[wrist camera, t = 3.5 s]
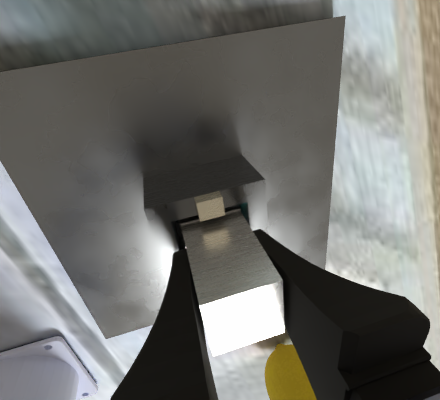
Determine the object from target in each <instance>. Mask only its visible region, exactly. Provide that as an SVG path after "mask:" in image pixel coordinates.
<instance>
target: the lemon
mask: <svg viewBox="0 0 440 400" xmlns="http://www.w3.org/2000/svg"><path fill="white" fill-rule="evenodd" d="M265 382H266V388H267V392H268V395H269V398H270V400H317V399H316V397H315V394H314V392H313V389H312V387H311V384H310V382H309V380H308V377H307V375H306V372H305V370H304V368H303V365H302V363H301V361H300V359H299V356H298V354H297V352H296V349H295V347H294V345H284V344H278V345H277V346H276V348H275V350H274V351H273V352H272V353H271V355H270V356H269V358H268V360H267V363H266V367H265Z"/></svg>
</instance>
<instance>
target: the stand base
mask: <svg viewBox="0 0 440 400" xmlns="http://www.w3.org/2000/svg"><path fill="white" fill-rule="evenodd" d="M344 27H345V16H341V17H334V18H328V19H322V20H316V21H310V22H304V23H298V24H291V25H285V26H279V27H273V28H267V29H261V30H255V31H248V32H242V33H236V34H230V35H224V36H218V37H212V38H205V39H199V40H193V41H187V42H181V43H175V44H169V45H162V46H156V47H150V48H144V49H138V50H132V51H126V52H119V53H113V54H107V55H101V56H95V57H89V58H83V59H76V60H70V61H64V62H58V63H52V64H46V65H40V66H33V67H27V68H21V69H15V70H9V71H3V72H0V161H1V162H2V164H3V166H4V167H5V169H6V171H7V173H8V174H9V176H10V178H11V179H12V181H13V183H14V184H15V186H16V188H17V189H18V191H19V193H20V195H21V196H22V198H23V200H24V201H25V203H26V205H27V206H28V208H29V210H30V211H31V213H32V215H33V217H34V218H35V220H36V222H37V223H38V225H39V227H40V228H41V230H42V232H43V233H44V235H45V237H46V239H47V240H48V242H49V244H50V245H51V247H52V249H53V250H54V252H55V254H56V255H57V257H58V259H59V261H60V262H61V264H62V266H63V267H64V269H65V271H66V272H67V274H68V276H69V277H70V279H71V281H72V283H73V284H74V286H75V288H76V289H77V291H78V293H79V294H80V296H81V298H82V299H83V301H84V303H85V305H86V306H87V308H88V310H89V311H90V313H91V315H92V316H93V318H94V320H95V321H96V323H97V325H98V326H99V328H100V330H101V332H102V333H103V335H104V337H105V338H106V339H108V338H111V337H115V336H118V335H121V334H124V333H127V332H131V331H134V330H137V329H140V328H144V327H147V326H150V325H153V324H154V322H155V320H156V317H157V315H158V312H159V310H160V307H161V304H162V301H163V298H164V295H165V292H166V288H167V284H168V280H169V276H170V271H171V266H172V255H173V253H174V252H177V251H180V250H184V249H186V248H185V244H184V240H183V236H182V232H181V229H180V225H179V220H180V219H184V218H188V217H192V216H196V215H198V217H199V220H200V222H201V221H205V220H209V219H212V218H216V217H220V216H224V215H225V211H224V208H227V207H231V206H235V205H237V206H239V207H240V208H241V213H242V214H243V216H244V218H245V219H246V221H247V223H248V224H249V226H250V227H251V229H252V231H253V230H257V229H261V230H263V231H264V232H266V233H267V234H268V235H270V236H271V237H272V238H274V239H275V240H276V241H278V242H279V243H281V244H282V245H283V246H285V247H286V248H288V249H289V250H291V251H292V252H294V253H295V254H297V255H299V256H300V257H302V258H304V259H305V260H307V261H309V262H310V263H312V264H314V265H316V266H318V267H320V268H322V269H324V270H325V264H326V251H327V239H328V227H329V214H330V202H331V189H332V177H333V164H334V152H335V139H336V127H337V114H338V102H339V89H340V77H341V64H342V52H343V39H344Z"/></svg>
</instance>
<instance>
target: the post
mask: <svg viewBox="0 0 440 400" xmlns="http://www.w3.org/2000/svg"><path fill="white" fill-rule="evenodd" d="M224 211H225V215H224V216H220V217H216V218H212V219H209V220H205V221H201V222H200V220H199V217H198V215H196V216H192V217H188V218H184V219H180V220H179V225H180V229H181V232H182V236H183V240H184V244H185V248H186V250H187V254H188V258H189V263H190V267H191V272H192V276H193V280H194V285H195V289H196V293H197V298H198V302H199V306H200V310H201V314H202V318H203V321H204V325H205V329H206V332H207V336H208V340H209V344H210V347H211V351H212V355H213V356H216V355H219V354H222V353H225V352H228V351H231V350H233V349H236V348H239V347H242V346H245V345H248V344H251V343H254V342H257V341H260V340H263V339H266V338H269V337H272V336H275V335H278V334H281V333H284V299H283V280H282V278H281V276H280V275H279V273H278V272H277V270H276V268H275V267H274V265H273V263H272V262H271V260H270V258H269V257H268V255H267V254H266V252H265V250H264V249H263V247H262V245H261V244H260V242H259V241H258V239H257V237H256V236H255V234H254V232H253V231H252V229H251V227H250V226H249V224H248V223H247V221H246V219H245V218H244V216H243V214H242V213H241V208H240V207H239V206H237V205H235V206H231V207H227V208H224Z"/></svg>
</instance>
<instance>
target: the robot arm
mask: <svg viewBox="0 0 440 400" xmlns="http://www.w3.org/2000/svg"><path fill="white" fill-rule="evenodd" d="M253 232H254V234H255V236H256V237H257V239H258V241H259V242H260V244H261V245H262V247H263V249H264V250H265V252H266V254H267V255H268V257H269V258H270V260H271V262H272V263H273V265H274V267H275V268H276V270H277V272H278V273H279V275H280V276H281V278H282V280H283V299H284V326H285V327H286V330H287V332H288V334H289V336H290V338H291V341H292V343H293V345H294V347H295V349H296V352H297V354H298V356H299V359H300V361H301V363H302V365H303V368H304V370H305V372H306V375H307V377H308V380H309V382H310V384H311V387H312V389H313V392H314V394H315V397H316V399H317V400H440V371H439V370H438V369H437V368H436V367H435V366H434V365H433V364H432V363H431V362H430V361H429V360H430V359H431V355H430V354H429V353H428V352H427V351H426V350H425V349H424V348H423V345H424V342H425V340H426V338H427V335H428V333H429V329H430V321H429V319H428V318H427V317H426V316H425V315H424V314H423V313H422V312H421V311H420V310H419V309H418V308H417V307H416V306H415V305H414V304H413V303H412V302H410V301H409V300H408V299H407V298H406V297H403V296H399V295H395V294H391V293H388V292H384V291H380V290H376V289H373V288H370V287H367V286H364V285H361V284H358V283H355V282H352V281H350V280H347V279H345V278H342V277H340V276H337V275H335V274H333V273H330V272H328V271H326V270H324V269H322V268H320V267H318V266H316V265H314V264H312V263H310V262H309V261H307V260H305V259H304V258H302V257H300V256H299V255H297V254H295V253H294V252H292V251H291V250H289V249H288V248H286V247H285V246H283V245H282V244H281V243H279V242H278V241H276V240H275V239H274V238H272V237H271V236H270V235H268V234H267V233H266V232H264V231H263V230H261V229H257V230H253ZM97 392H98V386H97V384H96V383H95V382H94V380H93V379H92V378H91V376H90V375H89V373H88V372H87V371H86V369H85V368H84V366H83V365H82V364H81V362H80V361H79V360H78V358H77V357H76V355H75V354H74V353H73V351H72V350H71V349H70V347H69V346H68V344H67V343H66V342H65V340H64V339H63V338H62V337H59V336H55V337H51V338H48V339H45V340H41V341H38V342H35V343H31V344H28V345H25V346H21V347H18V348H15V349H11V350H8V351H5V352H1V353H0V400H80V399H83V398H86V397H89V396H92V395H94V394H96V393H97ZM111 400H218V397H217V393H216V388H215V384H214V380H213V375H212V371H211V366H210V362H209V358H208V353H207V347H206V341H205V334H204V326H203V319H202V314H201V310H200V306H199V302H198V298H197V293H196V289H195V285H194V280H193V276H192V272H191V267H190V263H189V258H188V254H187V250H186V249H184V250H180V251H177V252H174V253H173V255H172V266H171V271H170V276H169V280H168V284H167V288H166V292H165V295H164V298H163V301H162V304H161V307H160V310H159V312H158V315H157V317H156V320H155V322H154V325H153V327H152V329H151V331H150V333H149V335H148V337H147V339H146V341H145V343H144V345H143V347H142V349H141V351H140V352H139V354H138V356H137V358H136V359H135V361H134V363H133V365H132V366H131V368H130V370H129V371H128V373H127V374H126V376H125V377H124V379H123V380H122V382H121V383H120V385H119V386H118V388H117V389H116V391H115V392H114V394H113V395H112V397H111Z"/></svg>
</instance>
